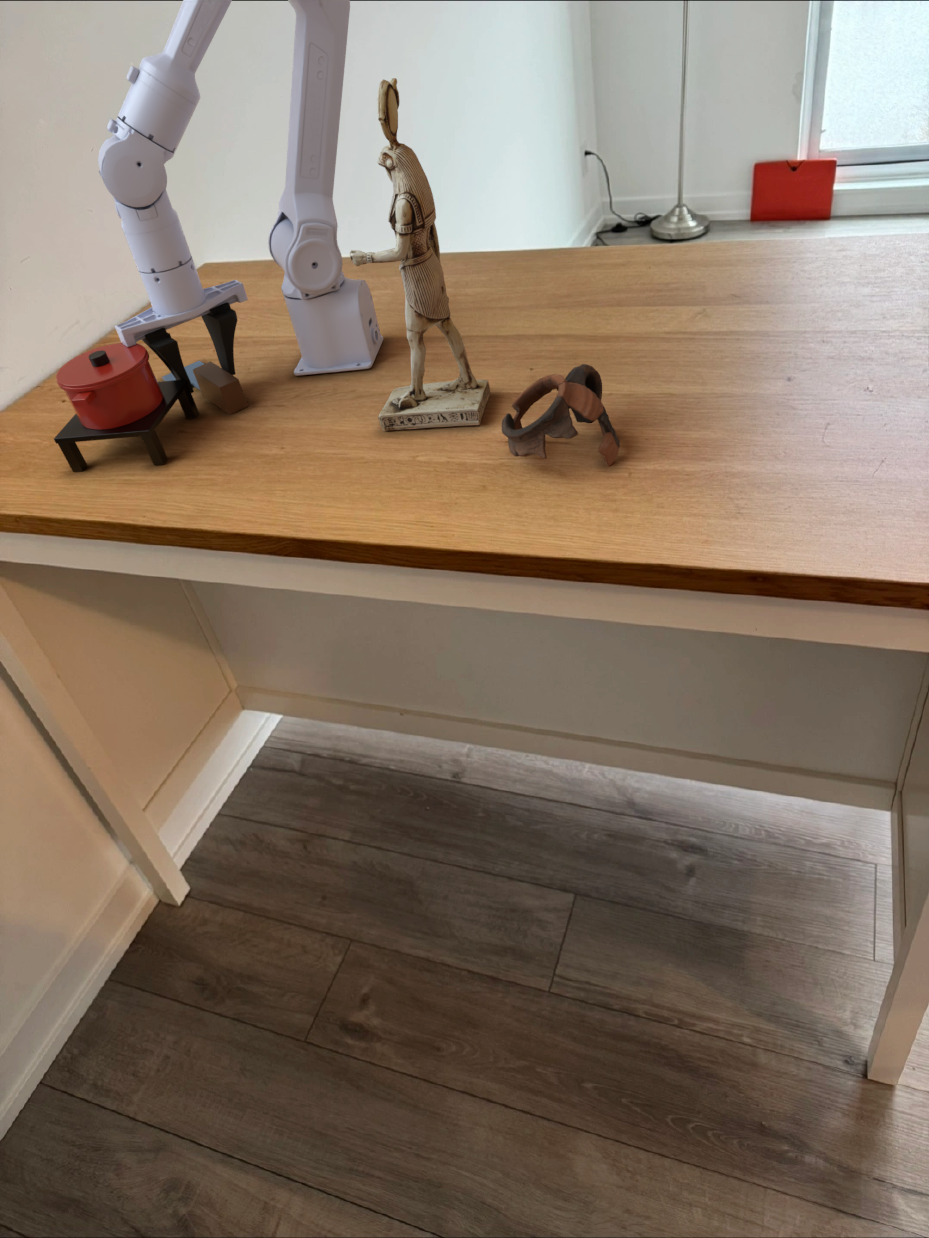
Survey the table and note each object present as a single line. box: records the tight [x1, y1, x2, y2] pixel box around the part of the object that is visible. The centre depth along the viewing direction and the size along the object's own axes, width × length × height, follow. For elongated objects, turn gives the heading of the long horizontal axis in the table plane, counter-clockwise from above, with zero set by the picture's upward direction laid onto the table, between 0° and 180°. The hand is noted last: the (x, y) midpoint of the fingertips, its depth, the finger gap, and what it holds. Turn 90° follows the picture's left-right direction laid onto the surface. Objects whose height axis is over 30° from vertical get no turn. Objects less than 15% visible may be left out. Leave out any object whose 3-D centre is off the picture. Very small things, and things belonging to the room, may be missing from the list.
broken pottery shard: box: [500, 363, 621, 467], centre depth 80 cm, size 12×10×8 cm
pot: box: [53, 342, 200, 473], centre depth 93 cm, size 11×12×10 cm
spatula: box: [161, 360, 249, 416], centre depth 103 cm, size 16×5×3 cm, turn 38°
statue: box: [349, 77, 491, 432], centre depth 81 cm, size 7×10×30 cm
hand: (208, 382), depth 101 cm, fingers open, 5 cm apart
